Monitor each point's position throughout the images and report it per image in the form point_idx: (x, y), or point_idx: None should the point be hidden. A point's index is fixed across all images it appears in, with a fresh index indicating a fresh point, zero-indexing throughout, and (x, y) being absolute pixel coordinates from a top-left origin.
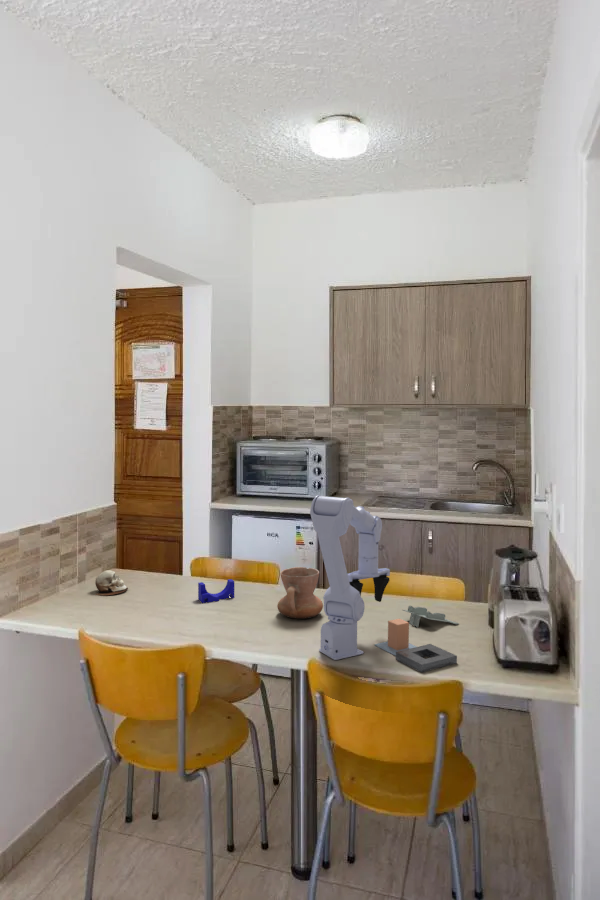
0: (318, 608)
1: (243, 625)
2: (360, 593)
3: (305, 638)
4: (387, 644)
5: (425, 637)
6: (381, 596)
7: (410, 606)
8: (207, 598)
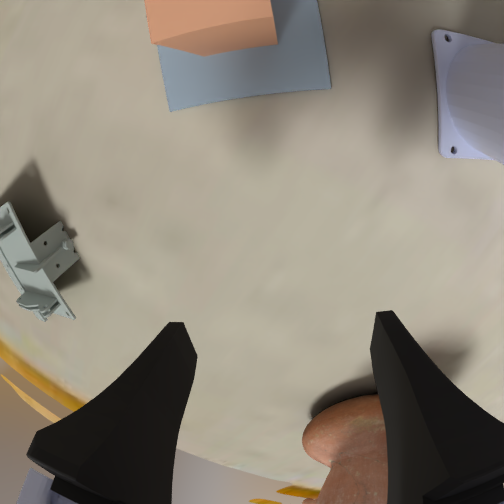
0: (348, 415)
1: (495, 382)
2: (420, 385)
3: (489, 279)
4: (269, 60)
5: (66, 113)
6: (155, 347)
7: (43, 310)
8: None
